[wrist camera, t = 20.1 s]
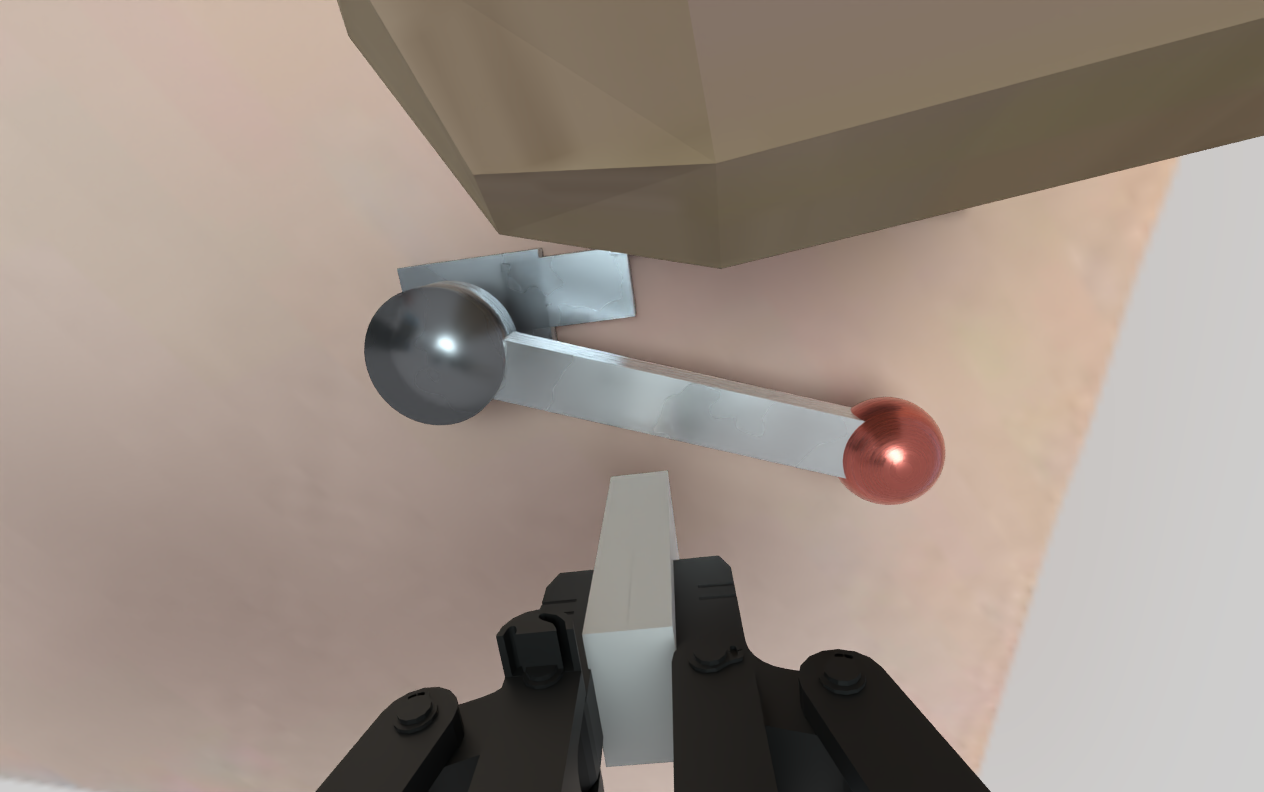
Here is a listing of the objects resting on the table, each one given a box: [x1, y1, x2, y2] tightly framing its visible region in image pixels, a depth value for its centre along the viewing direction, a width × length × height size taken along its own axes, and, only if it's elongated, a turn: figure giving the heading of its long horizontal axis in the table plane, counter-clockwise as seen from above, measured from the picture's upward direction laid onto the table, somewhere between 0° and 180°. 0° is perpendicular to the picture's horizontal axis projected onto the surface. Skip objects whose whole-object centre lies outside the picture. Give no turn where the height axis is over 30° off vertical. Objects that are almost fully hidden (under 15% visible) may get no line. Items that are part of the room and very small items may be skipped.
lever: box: [364, 281, 945, 505], centre depth 19 cm, size 4×17×3 cm, turn 78°
